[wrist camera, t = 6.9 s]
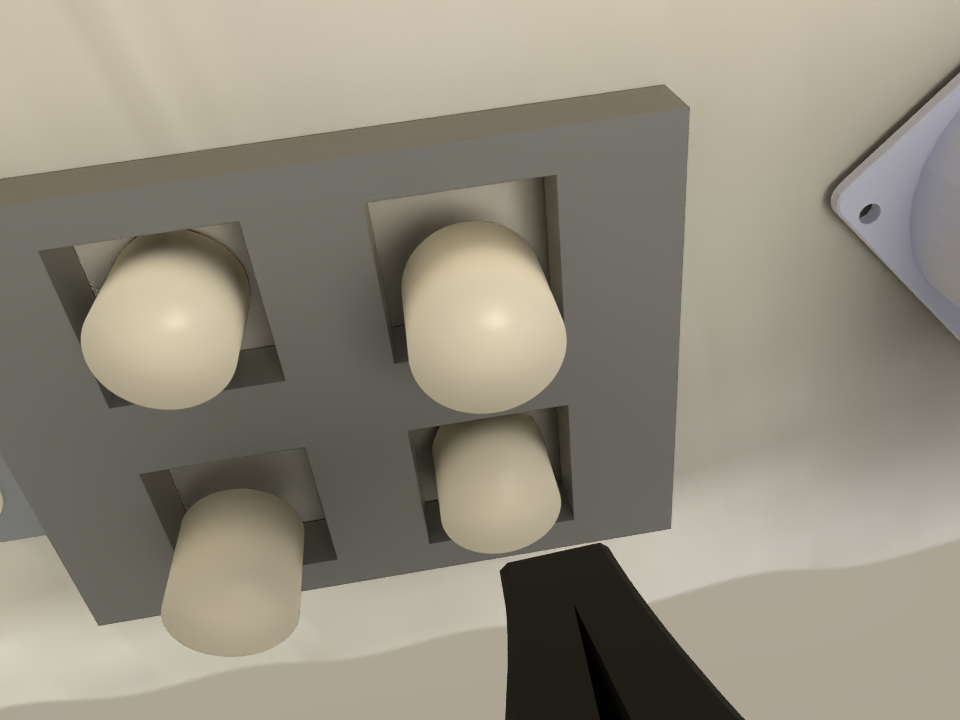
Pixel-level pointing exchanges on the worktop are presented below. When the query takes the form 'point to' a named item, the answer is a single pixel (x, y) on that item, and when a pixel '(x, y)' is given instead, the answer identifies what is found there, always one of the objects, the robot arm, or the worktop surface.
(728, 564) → the worktop surface
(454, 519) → the button
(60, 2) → the worktop surface
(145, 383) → the button
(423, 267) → the button
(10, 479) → the card
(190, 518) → the button
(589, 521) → the button board
